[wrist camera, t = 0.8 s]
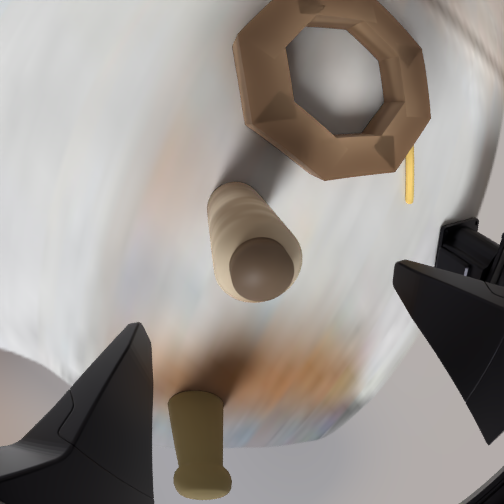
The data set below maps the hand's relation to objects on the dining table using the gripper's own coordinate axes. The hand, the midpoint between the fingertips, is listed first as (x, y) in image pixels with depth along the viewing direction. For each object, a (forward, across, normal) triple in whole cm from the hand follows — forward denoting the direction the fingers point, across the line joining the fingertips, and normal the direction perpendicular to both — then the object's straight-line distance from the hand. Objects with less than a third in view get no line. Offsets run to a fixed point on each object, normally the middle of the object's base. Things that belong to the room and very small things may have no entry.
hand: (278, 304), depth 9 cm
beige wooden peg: (+11, 0, 0) cm, 11 cm away
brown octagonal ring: (+11, -8, -8) cm, 16 cm away
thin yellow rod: (+11, -14, -2) cm, 18 cm away
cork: (+11, +8, +20) cm, 24 cm away
